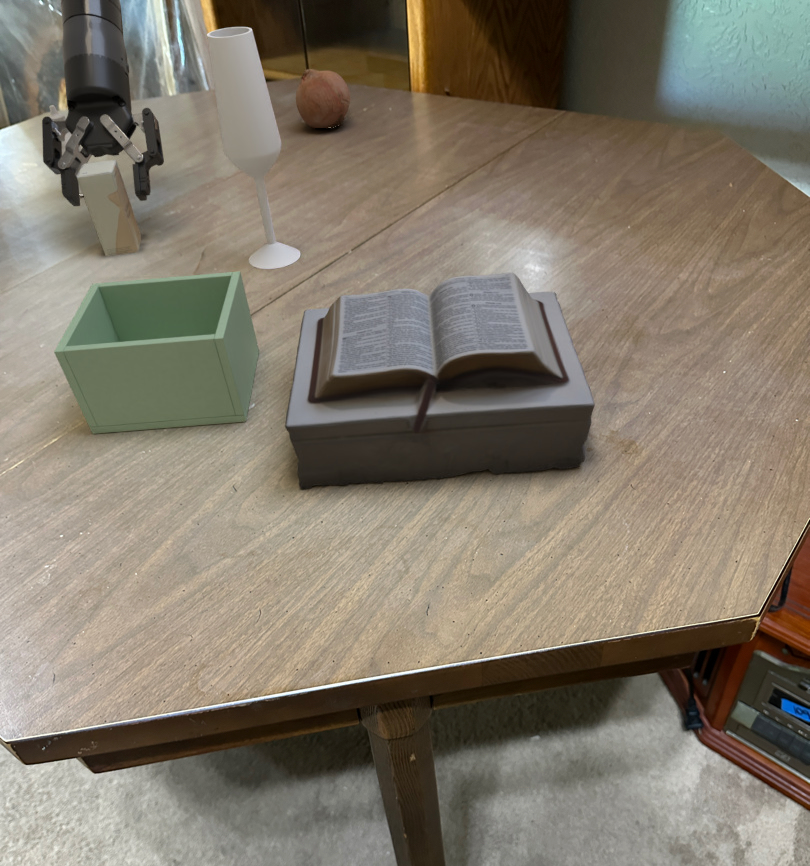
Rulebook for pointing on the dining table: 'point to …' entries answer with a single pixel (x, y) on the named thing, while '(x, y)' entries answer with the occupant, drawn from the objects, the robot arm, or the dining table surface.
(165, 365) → the storage bin
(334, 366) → the bible
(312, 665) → the dining table surface
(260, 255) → the champagne flute
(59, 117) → the eye dropper bottle
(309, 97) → the pomegranate
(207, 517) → the dining table surface
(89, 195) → the box
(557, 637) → the dining table surface
